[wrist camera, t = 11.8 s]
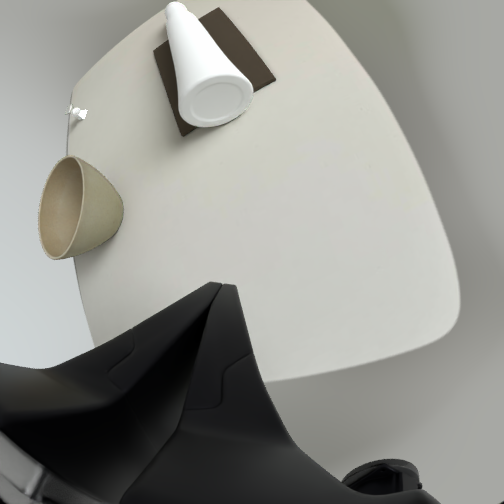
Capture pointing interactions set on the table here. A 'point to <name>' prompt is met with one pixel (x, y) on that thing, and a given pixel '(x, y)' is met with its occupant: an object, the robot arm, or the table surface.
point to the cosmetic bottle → (203, 73)
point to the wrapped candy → (75, 112)
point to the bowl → (77, 209)
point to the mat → (233, 49)
